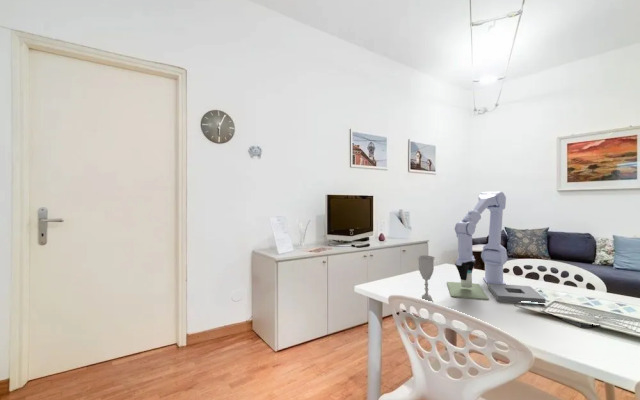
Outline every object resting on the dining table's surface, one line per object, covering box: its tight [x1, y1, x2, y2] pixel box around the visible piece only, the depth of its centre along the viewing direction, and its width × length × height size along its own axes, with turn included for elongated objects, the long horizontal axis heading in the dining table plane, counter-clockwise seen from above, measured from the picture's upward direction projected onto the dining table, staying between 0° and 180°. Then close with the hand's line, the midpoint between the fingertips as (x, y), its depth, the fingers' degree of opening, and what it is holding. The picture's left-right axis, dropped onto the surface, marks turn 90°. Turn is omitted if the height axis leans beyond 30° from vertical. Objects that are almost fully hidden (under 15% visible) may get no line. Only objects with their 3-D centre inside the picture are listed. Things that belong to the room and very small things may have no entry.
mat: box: [446, 281, 490, 301], centre depth 129 cm, size 20×14×1 cm
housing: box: [488, 283, 546, 304], centre depth 121 cm, size 16×16×2 cm
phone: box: [561, 319, 593, 329], centre depth 100 cm, size 8×1×15 cm
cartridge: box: [460, 270, 473, 288], centre depth 129 cm, size 4×4×7 cm
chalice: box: [417, 255, 435, 303], centre depth 118 cm, size 7×7×18 cm
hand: (465, 278), depth 129 cm, fingers closed on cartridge, 4 cm apart
